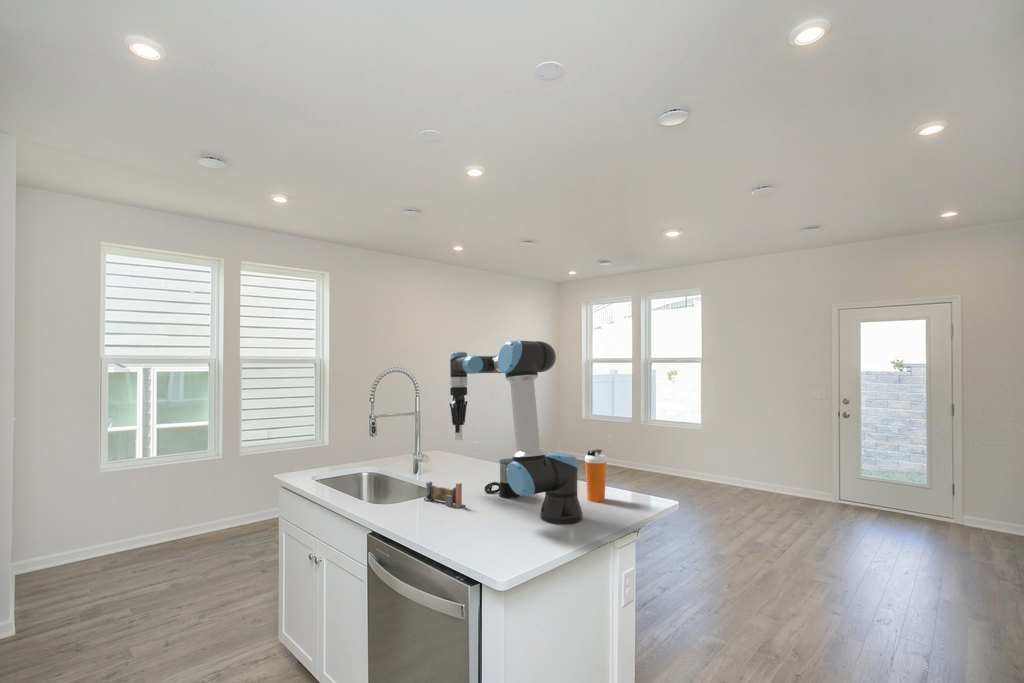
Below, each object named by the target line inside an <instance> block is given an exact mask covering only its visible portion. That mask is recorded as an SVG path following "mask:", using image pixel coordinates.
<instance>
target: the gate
mask: <svg viewBox="0 0 1024 683" xmlns="http://www.w3.org/2000/svg"><path fill="white" fill-rule="evenodd" d="M446 495H450V496H453V505H455V504H456V486H455V487H453V488H449V487H448V488H447V487H443V486H438V485H432V486H431V499H435V500H434V501H440V502H445V503H446Z"/></svg>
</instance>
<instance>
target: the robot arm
mask: <svg viewBox="0 0 1024 683" xmlns="http://www.w3.org/2000/svg"><path fill="white" fill-rule="evenodd" d="M556 360H557V354H556V352H555V349H554V348H553V346H552V345H550V344H549V343H547V342H545V341H540V340H539V341H537V340H536V341H533V340H520V339H517V340H509V341H506V342H505V343H504V344H503V345H501V348H500V349H499V352H498V354H497V355H489V356H487V355H481V356H480V355H468V353H467V351H452V352H450V359H449V361H450V362H449V363H450V364H449V365H450V366H449V368H450V369H449V370H450V373H449V374H450V379H449V381H450V382H449V384H450V385H449V386H451V387H450V388H449V389H450V390H449V391H450V392H449V395H451V396H452V402H450V403H449V408H450V413H451V414H450V415H451V423H452V425H453V426H454V427H455V430H454V440H455V441H463V426H464V425H465V422H466V415H467V407H468V406H467V405H468V401H466V400H465V398H466V397H465V396H467V395H468V374H470V375H476V374H504V375H505V380H506V381H507V382H508V383H509V384H510V393H511V394H510V395H511V396H510V397H511V406H512V409H511V410H512V417H513V431H514V443H515V452H514V453H513V455H512V456H511V457H512V458H511V459H512V461H513V462H511V463H510V464H509V465H508V468H507V479H508V483H509V485H510V487H511V488H512V490H513V491H514V492H515V493H516V494H518V495H521V496H532V495H537V494H543V493H544V499H543V503H542V506H541V509H540V518H541V520H543V522H546V523H550V524H558V525H569V524H571V525H572V524H575V523H580V522H581V521H582V520H583V511H582V510H583V509H582V507H581V505H580V504H581V503H580V501H579V497H578V468H579V467H578V460H577V457H576V455H575V456H574V455H572V454H569V453H563V452H556V451H555V452H553V451H552V452H550V451H549V452H545V451H543V450H542V449H541V442H540V433H539V422H538V420H539V418H538V412H537V410H538V409H537V399H536V387H535V381H536V379H538V374H539V373H544V372H548V371H549V370H550V369H552V368H553V366H554V365H555V363H556ZM521 496H520V497H521Z"/></svg>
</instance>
